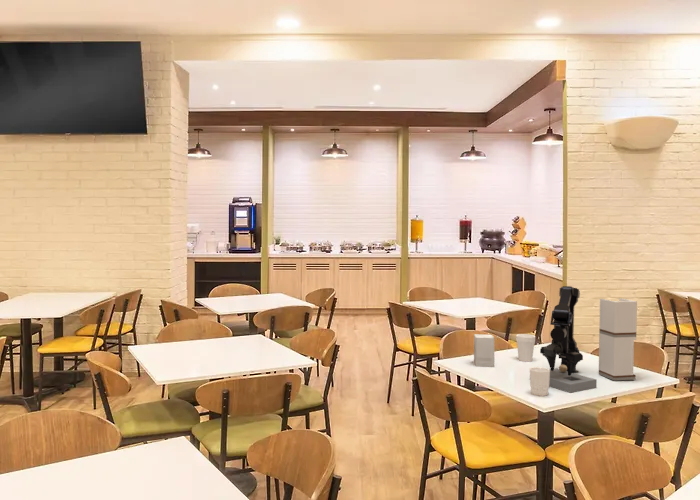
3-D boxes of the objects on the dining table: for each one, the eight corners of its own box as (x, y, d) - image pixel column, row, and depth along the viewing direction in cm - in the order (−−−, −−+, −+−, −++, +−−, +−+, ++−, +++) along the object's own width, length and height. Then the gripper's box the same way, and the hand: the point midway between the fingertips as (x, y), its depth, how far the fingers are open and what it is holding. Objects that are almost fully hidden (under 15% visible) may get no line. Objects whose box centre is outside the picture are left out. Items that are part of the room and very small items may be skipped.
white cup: (526, 391, 237) (526, 367, 237) (544, 390, 238) (545, 366, 238) (534, 396, 229) (534, 372, 229) (553, 396, 230) (553, 371, 230)
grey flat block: (555, 375, 262) (555, 368, 262) (596, 387, 243) (596, 379, 242) (529, 380, 254) (529, 372, 254) (570, 392, 235) (570, 384, 235)
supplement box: (492, 364, 285) (492, 334, 284) (494, 368, 276) (495, 337, 275) (473, 363, 286) (473, 333, 285) (475, 368, 277) (475, 337, 276)
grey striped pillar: (635, 379, 256) (637, 301, 255) (613, 380, 254) (615, 301, 253) (619, 373, 267) (620, 298, 266) (598, 374, 266) (599, 298, 264)
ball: (568, 372, 252) (569, 365, 254) (561, 370, 252) (562, 362, 253) (563, 374, 255) (564, 366, 257) (557, 371, 255) (557, 364, 256)
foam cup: (537, 360, 293) (537, 335, 292) (532, 364, 285) (532, 338, 284) (518, 358, 298) (519, 333, 297) (513, 361, 290) (513, 336, 289)
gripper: (531, 335, 253) (531, 370, 254) (565, 343, 237) (564, 380, 237) (549, 333, 258) (549, 367, 259) (584, 340, 242) (583, 377, 242)
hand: (560, 373), depth 249 cm, fingers open, 9 cm apart
